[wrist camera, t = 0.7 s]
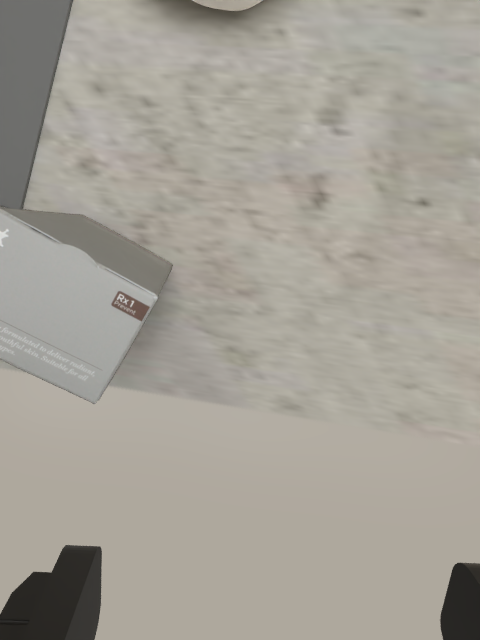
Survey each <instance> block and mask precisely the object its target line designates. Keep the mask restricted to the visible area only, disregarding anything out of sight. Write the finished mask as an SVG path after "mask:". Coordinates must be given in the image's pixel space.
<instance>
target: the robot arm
mask: <svg viewBox="0 0 480 640" xmlns="http://www.w3.org/2000/svg"><path fill="white" fill-rule="evenodd" d="M101 559H102V551H101V547H97V546H72V545H66V546H65V547H64V548H63V549H62V551H61V553H60V555H59V558H58V560H57V562H56V564H55V566H54V569H53V571H52V573H48V572H33V573H32V574H31V575H30V576H29V577H28V578H27V579H26V580H25V581H24V582H23V583H22V584H21V585H20V586H19V587H18V588H17V589H16V590H15V591H14V592H12V594H11V596H10V598H9V599H8V601H7V603H6V605H5V607H4V608H3V610H2V612H1V614H0V640H94V639H95V635H96V631H97V626H98V621H99V614H100V606H101V561H102V560H101ZM441 631H442V636H443V640H480V564H476V563H457V564H455V566H454V567H453V570H452V573H451V577H450V581H449V585H448V589H447V593H446V597H445V601H444V605H443V608H442V612H441Z"/></svg>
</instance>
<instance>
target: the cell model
mask: <svg viewBox="0 0 480 640" xmlns="http://www.w3.org/2000/svg"><path fill="white" fill-rule="evenodd" d="M192 1H194V2H196V3H198V4H201V5H203V6H206V7H210V8H215V9H221V10H228V11H241V10H245V9H248V8H251V7H253V6H255V5H256V4H258V3H260V2H262V1H263V0H192Z"/></svg>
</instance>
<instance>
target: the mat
mask: <svg viewBox="0 0 480 640" xmlns="http://www.w3.org/2000/svg"><path fill="white" fill-rule="evenodd" d="M72 2H73V0H0V205H1V206H4V207H7V208H11V209H22V208H23V204H24V200H25V196H26V192H27V188H28V184H29V179H30V175H31V171H32V167H33V163H34V159H35V155H36V151H37V146H38V142H39V138H40V134H41V130H42V126H43V122H44V117H45V113H46V109H47V105H48V101H49V97H50V93H51V89H52V84H53V80H54V76H55V72H56V68H57V64H58V60H59V55H60V51H61V47H62V43H63V39H64V35H65V31H66V27H67V22H68V18H69V14H70V10H71V6H72Z"/></svg>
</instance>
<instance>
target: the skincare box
mask: <svg viewBox="0 0 480 640" xmlns="http://www.w3.org/2000/svg"><path fill="white" fill-rule="evenodd" d="M172 266H173V265H172V264H171V263H169V262H168V261H166V260H164V259H162V258H161V257H159V256H157V255H155V254H154V253H152V252H150V251H148V250H146V249H145V248H143V247H141V246H139V245H137V244H136V243H134V242H132V241H130V240H128V239H127V238H125V237H123V236H121V235H119V234H117V233H115V232H114V231H112V230H110V229H108V228H106V227H104V226H103V225H101V224H99V223H97V222H95V221H93V220H92V219H90V218H88V217H86V216H84V215H75V214H65V213H54V212H43V211H32V210H22V209H11V208H1V207H0V359H1V360H3V361H5V362H7V363H9V364H11V365H13V366H15V367H17V368H19V369H21V370H23V371H25V372H27V373H29V374H32V375H34V376H36V377H38V378H40V379H42V380H44V381H46V382H48V383H51V384H53V385H55V386H57V387H59V388H62V389H64V390H66V391H68V392H70V393H72V394H74V395H77V396H79V397H81V398H83V399H85V400H87V401H89V402H91V403H93V404H95V403H97V401H98V400H99V399H100V397H101V396H102V394H103V392H104V391H105V389H106V388H107V386H108V384H109V383H110V381H111V380H112V378H113V376H114V374H115V373H116V371H117V369H118V368H119V366H120V364H121V363H122V361H123V359H124V358H125V356H126V354H127V353H128V351H129V349H130V347H131V346H132V344H133V342H134V340H135V338H136V337H137V335H138V333H139V331H140V330H141V328H142V326H143V324H144V322H145V321H146V319H147V317H148V315H149V313H150V312H151V310H152V308H153V306H154V304H155V303H156V301H157V299H158V296H159V294H160V291H161V289H162V287H163V285H164V283H165V281H166V279H167V277H168V275H169V273H170V271H171V269H172Z"/></svg>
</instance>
